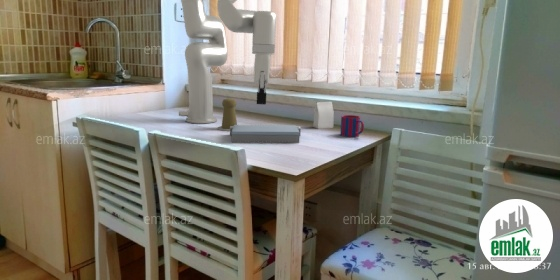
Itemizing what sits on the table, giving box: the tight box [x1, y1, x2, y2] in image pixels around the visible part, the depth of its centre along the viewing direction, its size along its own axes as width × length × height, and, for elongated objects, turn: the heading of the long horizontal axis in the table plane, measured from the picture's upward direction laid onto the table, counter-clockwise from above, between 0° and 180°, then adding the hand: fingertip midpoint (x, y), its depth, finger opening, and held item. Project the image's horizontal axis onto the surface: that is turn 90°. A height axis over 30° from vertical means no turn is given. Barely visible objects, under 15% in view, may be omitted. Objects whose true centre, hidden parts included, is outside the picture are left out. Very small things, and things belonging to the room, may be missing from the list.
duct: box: [229, 126, 302, 144], centre depth 141 cm, size 12×25×3 cm, turn 93°
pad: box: [216, 125, 230, 132], centre depth 157 cm, size 10×10×1 cm
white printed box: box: [313, 101, 335, 130], centre depth 161 cm, size 4×7×10 cm, turn 114°
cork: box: [221, 98, 238, 129], centre depth 156 cm, size 6×6×11 cm
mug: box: [340, 114, 365, 138], centre depth 147 cm, size 7×10×7 cm
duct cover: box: [231, 124, 301, 136], centre depth 140 cm, size 12×22×1 cm, turn 93°
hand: (261, 103), depth 143 cm, fingers closed
